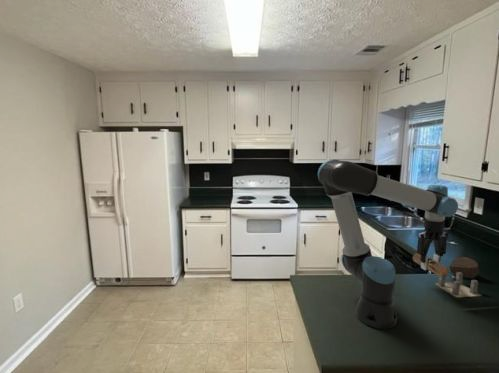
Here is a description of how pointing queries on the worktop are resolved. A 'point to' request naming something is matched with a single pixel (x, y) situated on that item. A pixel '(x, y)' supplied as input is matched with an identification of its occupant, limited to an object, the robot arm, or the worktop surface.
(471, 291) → the board
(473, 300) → the worktop surface
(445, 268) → the tube
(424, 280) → the worktop surface
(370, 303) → the robot arm
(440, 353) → the worktop surface
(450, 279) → the post
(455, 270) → the rock
